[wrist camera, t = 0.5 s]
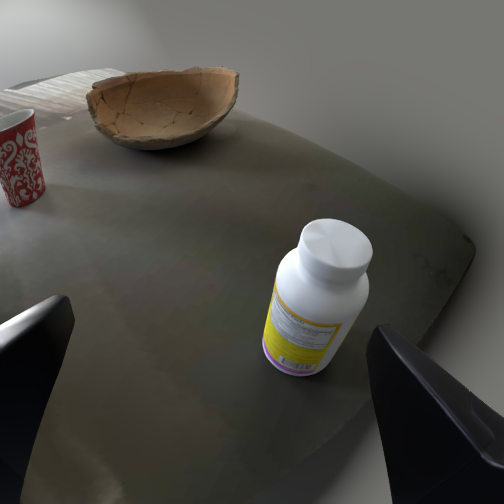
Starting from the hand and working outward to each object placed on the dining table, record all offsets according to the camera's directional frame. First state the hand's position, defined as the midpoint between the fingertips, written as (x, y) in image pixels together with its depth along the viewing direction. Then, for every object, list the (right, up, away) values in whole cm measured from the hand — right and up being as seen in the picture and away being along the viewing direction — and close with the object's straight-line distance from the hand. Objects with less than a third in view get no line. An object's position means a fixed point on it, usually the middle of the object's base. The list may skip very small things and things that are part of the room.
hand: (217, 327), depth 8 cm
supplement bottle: (+5, -7, +19) cm, 21 cm away
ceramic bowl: (-17, +27, +52) cm, 61 cm away
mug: (-38, +12, +33) cm, 52 cm away
